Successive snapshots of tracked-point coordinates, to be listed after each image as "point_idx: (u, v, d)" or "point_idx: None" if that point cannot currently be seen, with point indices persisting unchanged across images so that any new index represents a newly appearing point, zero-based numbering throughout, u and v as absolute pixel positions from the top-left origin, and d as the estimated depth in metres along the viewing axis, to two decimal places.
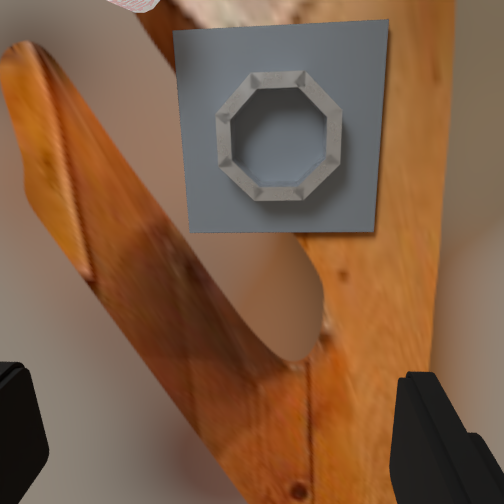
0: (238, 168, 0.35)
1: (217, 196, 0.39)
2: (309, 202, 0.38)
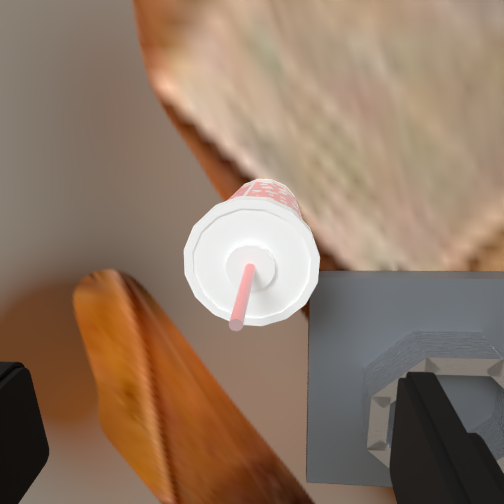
0: None
1: (347, 449, 0.31)
2: None
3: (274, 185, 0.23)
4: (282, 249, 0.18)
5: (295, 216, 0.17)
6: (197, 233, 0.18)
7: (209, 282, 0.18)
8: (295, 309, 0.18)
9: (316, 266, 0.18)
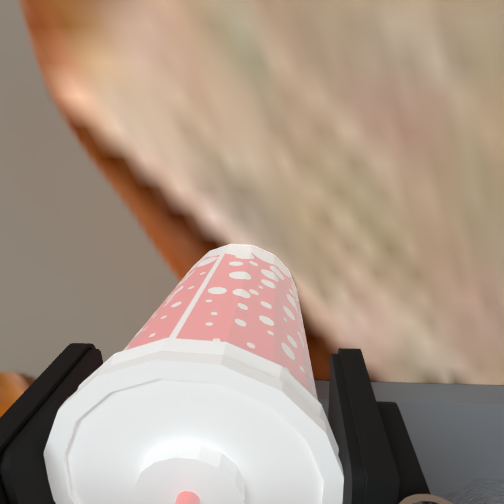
0: None
1: None
2: None
3: (254, 263, 0.14)
4: (260, 457, 0.08)
5: (289, 398, 0.07)
6: (68, 423, 0.08)
7: None
8: None
9: (336, 497, 0.08)
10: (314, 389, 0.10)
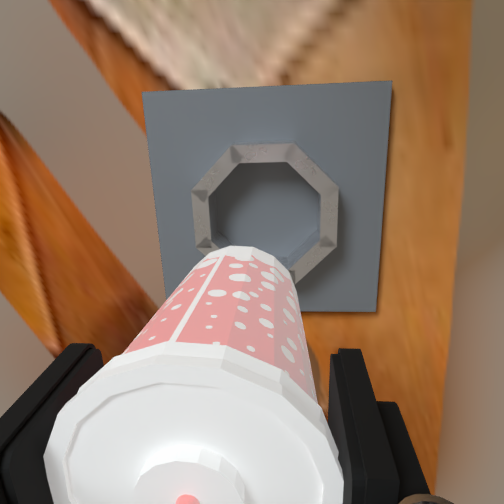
0: None
1: None
2: (302, 279, 0.34)
3: (254, 265, 0.14)
4: (260, 461, 0.08)
5: (288, 402, 0.07)
6: (67, 426, 0.08)
7: None
8: None
9: (336, 500, 0.08)
10: (314, 392, 0.10)
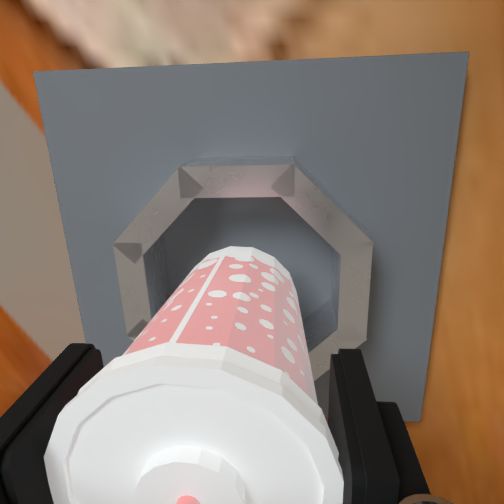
0: None
1: None
2: None
3: (254, 266, 0.14)
4: (261, 462, 0.08)
5: (289, 403, 0.07)
6: (68, 427, 0.08)
7: None
8: None
9: (336, 501, 0.08)
10: (314, 392, 0.10)
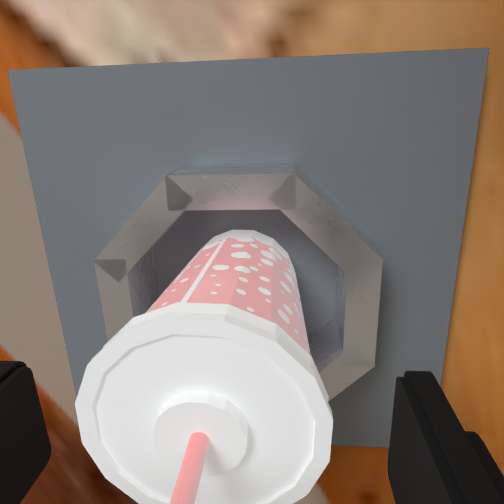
0: None
1: None
2: None
3: (254, 245, 0.15)
4: (260, 403, 0.09)
5: (282, 348, 0.09)
6: (96, 376, 0.09)
7: (129, 454, 0.10)
8: (289, 502, 0.10)
9: (326, 434, 0.09)
10: (308, 351, 0.11)
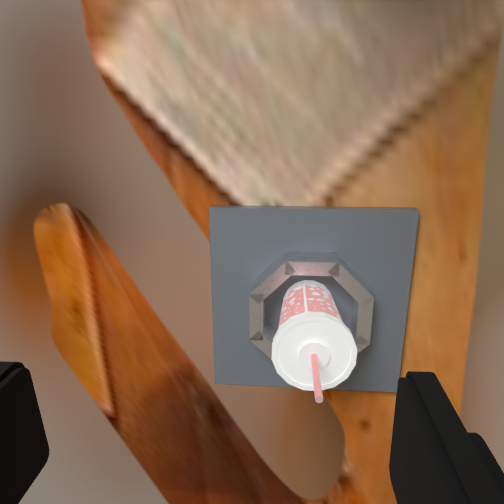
0: (269, 342, 0.35)
1: (244, 353, 0.39)
2: None
3: (318, 289, 0.35)
4: (334, 344, 0.29)
5: (342, 325, 0.28)
6: (281, 334, 0.28)
7: (286, 363, 0.29)
8: (341, 380, 0.29)
9: (355, 355, 0.28)
10: None
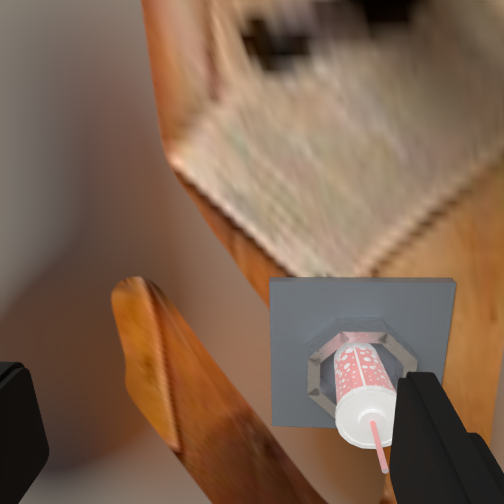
0: (324, 396, 0.41)
1: (298, 400, 0.45)
2: None
3: (367, 352, 0.40)
4: (389, 412, 0.34)
5: None
6: (344, 405, 0.34)
7: (348, 427, 0.35)
8: None
9: None
10: None
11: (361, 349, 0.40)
